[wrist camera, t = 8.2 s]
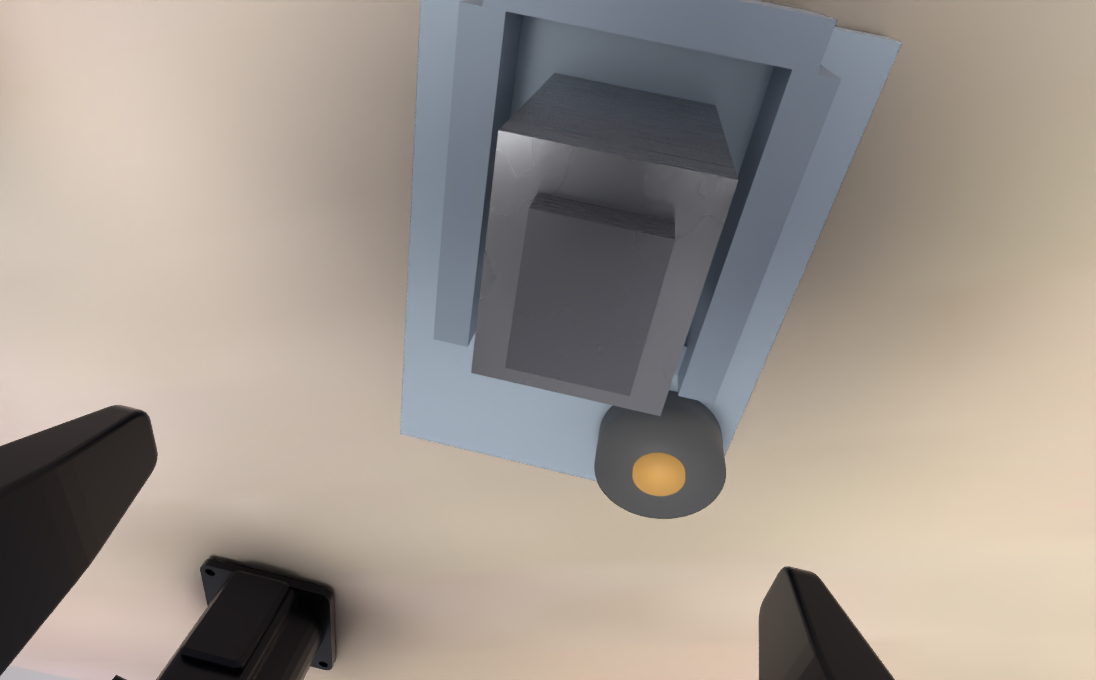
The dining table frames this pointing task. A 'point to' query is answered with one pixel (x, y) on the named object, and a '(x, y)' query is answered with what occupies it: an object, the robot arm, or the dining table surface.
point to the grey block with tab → (600, 240)
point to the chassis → (741, 254)
